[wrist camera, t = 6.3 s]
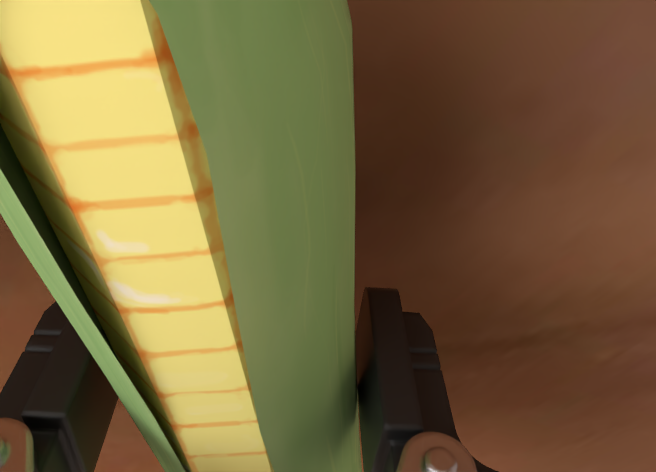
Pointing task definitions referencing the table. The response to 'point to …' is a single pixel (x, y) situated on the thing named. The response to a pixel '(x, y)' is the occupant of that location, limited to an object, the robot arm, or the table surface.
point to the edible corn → (195, 214)
